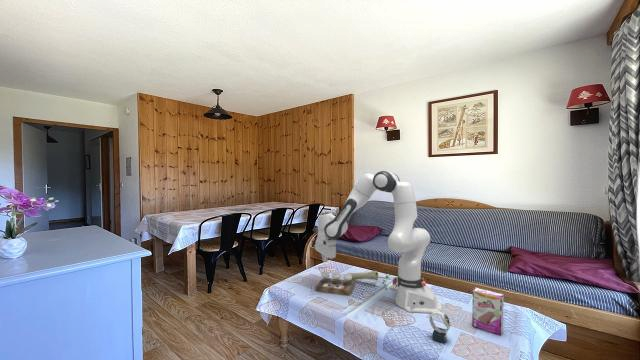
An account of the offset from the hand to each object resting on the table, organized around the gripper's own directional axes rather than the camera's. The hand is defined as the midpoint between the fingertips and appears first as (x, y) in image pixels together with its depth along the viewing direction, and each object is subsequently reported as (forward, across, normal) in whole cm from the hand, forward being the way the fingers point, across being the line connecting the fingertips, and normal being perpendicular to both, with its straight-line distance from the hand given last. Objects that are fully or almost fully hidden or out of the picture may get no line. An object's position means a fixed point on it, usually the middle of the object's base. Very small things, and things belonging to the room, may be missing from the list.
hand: (324, 261), depth 171 cm
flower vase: (+15, +15, +26) cm, 33 cm away
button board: (+15, +7, +3) cm, 17 cm away
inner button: (+9, +11, +10) cm, 17 cm away
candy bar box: (+14, +75, +40) cm, 87 cm away
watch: (+14, +70, +16) cm, 74 cm away
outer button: (+9, 0, 0) cm, 9 cm away
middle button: (+9, +6, +5) cm, 11 cm away
